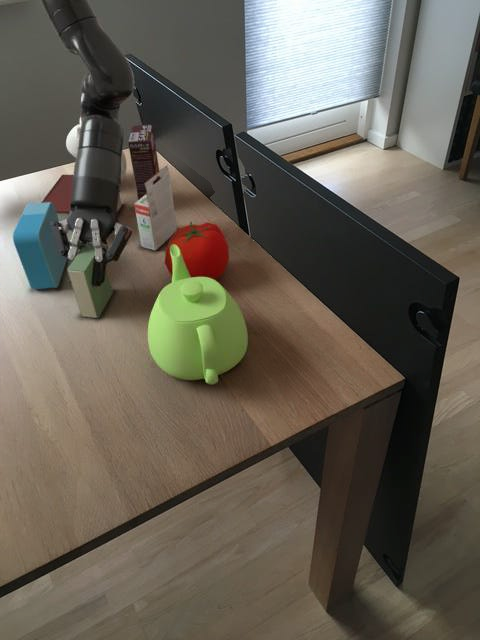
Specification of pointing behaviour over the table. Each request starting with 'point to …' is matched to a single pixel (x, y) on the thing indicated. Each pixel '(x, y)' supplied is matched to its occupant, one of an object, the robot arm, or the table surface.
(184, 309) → the teapot
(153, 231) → the ink box
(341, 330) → the table surface
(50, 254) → the blue rounded block
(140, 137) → the supplement box
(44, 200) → the book stack
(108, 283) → the green rectangular block
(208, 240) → the tomato
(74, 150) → the cat figurine
